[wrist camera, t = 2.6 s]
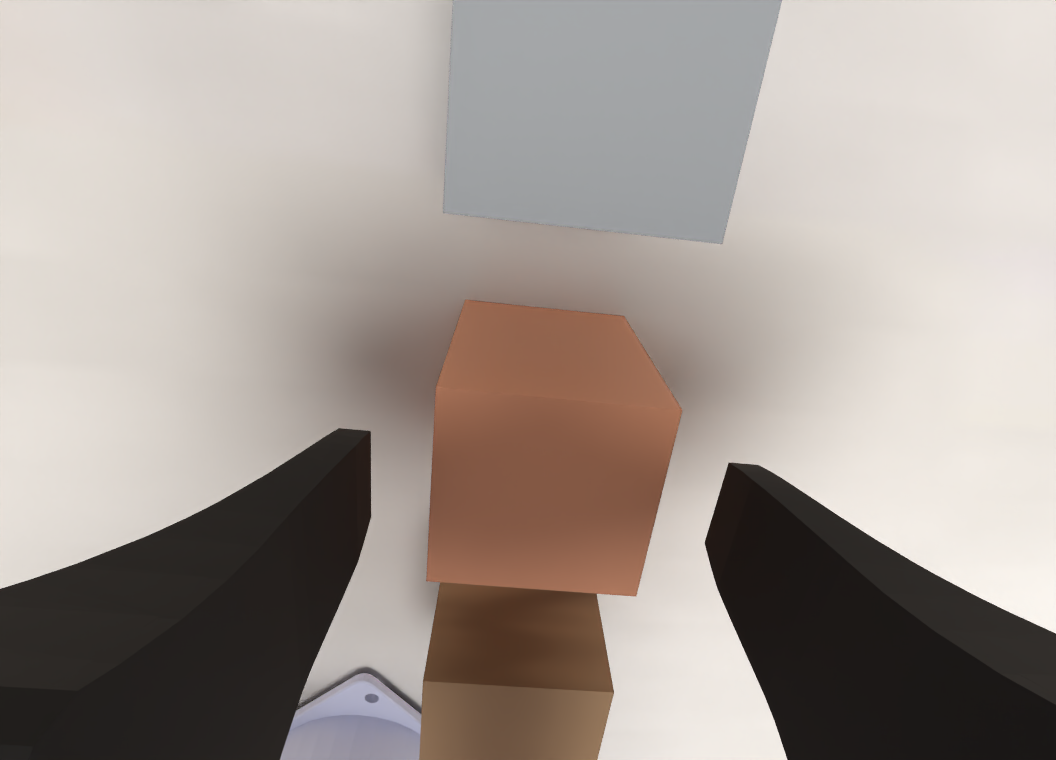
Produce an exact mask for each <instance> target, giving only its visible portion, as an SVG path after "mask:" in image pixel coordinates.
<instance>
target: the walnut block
mask: <svg viewBox="0 0 1056 760" xmlns="http://www.w3.org/2000/svg"><path fill="white" fill-rule="evenodd" d="M613 694H614V690H613V685H612V679H611V673H610V668H609V662H608V656H607V651H606V645H605V640H604V634H603V628H602V623H601V617H600V611H599V606H598V600H597V595H596V593H582V592H569V591H555V590H541V589H527V588H513V587H500V586H486V585H472V584H458V583H444V582H440V587H439V593H438V599H437V604H436V610H435V616H434V622H433V627H432V633H431V639H430V644H429V650H428V656H427V662H426V667H425V673H424V679H423V693H422V713H421V733H420V753H419V760H597V758H598V754H599V750H600V746H601V742H602V738H603V734H604V730H605V726H606V722H607V718H608V714H609V710H610V706H611V702H612V698H613Z"/></svg>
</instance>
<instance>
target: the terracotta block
mask: <svg viewBox="0 0 1056 760" xmlns="http://www.w3.org/2000/svg"><path fill="white" fill-rule="evenodd" d="M681 414H682V409H681V407H680V406H679V404H678V403H677V401H676V399H675V398H674V396H673V394H672V393H671V391H670V390H669V388H668V386H667V385H666V383H665V382H664V380H663V378H662V377H661V375H660V373H659V372H658V370H657V369H656V367H655V365H654V364H653V362H652V361H651V359H650V357H649V356H648V354H647V353H646V351H645V349H644V348H643V346H642V344H641V343H640V341H639V340H638V338H637V336H636V335H635V333H634V332H633V330H632V328H631V327H630V325H629V323H628V322H627V320H626V319H625V317H624V316H617V315H607V314H598V313H588V312H578V311H569V310H559V309H549V308H539V307H530V306H520V305H510V304H501V303H491V302H481V301H472V300H465V302H464V305H463V308H462V311H461V314H460V317H459V320H458V323H457V326H456V329H455V332H454V335H453V338H452V341H451V344H450V347H449V350H448V353H447V356H446V359H445V362H444V364H443V367H442V370H441V373H440V376H439V379H438V382H437V385H436V394H435V414H434V435H433V455H432V476H431V496H430V517H429V537H428V558H427V578H426V581H431V582H444V583H458V584H472V585H486V586H500V587H513V588H527V589H541V590H555V591H569V592H582V593H596V594H610V595H624V596H636V595H637V591H638V587H639V583H640V579H641V575H642V571H643V567H644V563H645V559H646V555H647V550H648V546H649V542H650V538H651V534H652V530H653V526H654V522H655V518H656V514H657V510H658V506H659V502H660V498H661V494H662V490H663V486H664V482H665V478H666V474H667V470H668V466H669V462H670V458H671V454H672V450H673V446H674V442H675V438H676V434H677V430H678V426H679V422H680V418H681Z"/></svg>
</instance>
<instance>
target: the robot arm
mask: <svg viewBox="0 0 1056 760" xmlns="http://www.w3.org/2000/svg"><path fill="white" fill-rule="evenodd" d="M370 518H371V431H363V430H352V429H340V428H339V429H337V430H335V431H334V432H332V433H330V434H329V435H327V436H326V437H324V438H322V439H321V440H319V441H318V442H316V443H315V444H313V445H312V446H310V447H309V448H307V449H306V450H304V451H303V452H301V453H300V454H298V455H296V456H295V457H293V458H292V459H290V460H289V461H287V462H285V463H284V464H282V465H281V466H279V467H278V468H276V469H274V470H273V471H271V472H270V473H268V474H266V475H265V476H263V477H261V478H260V479H258V480H256V481H254V482H253V483H251V484H249V485H247V486H246V487H244V488H242V489H240V490H239V491H237V492H235V493H233V494H232V495H230V496H228V497H226V498H225V499H223V500H221V501H219V502H217V503H216V504H214V505H212V506H210V507H208V508H206V509H204V510H202V511H200V512H198V513H196V514H194V515H192V516H190V517H188V518H186V519H184V520H181V521H179V522H177V523H175V524H173V525H171V526H168V527H166V528H164V529H162V530H160V531H158V532H155V533H153V534H151V535H148V536H146V537H144V538H141V539H139V540H136V541H134V542H131V543H128V544H126V545H123V546H121V547H118V548H116V549H113V550H111V551H108V552H106V553H103V554H100V555H98V556H95V557H93V558H90V559H88V560H85V561H83V562H80V563H77V564H75V565H72V566H69V567H66V568H63V569H60V570H57V571H54V572H51V573H48V574H46V575H43V576H40V577H37V578H34V579H31V580H28V581H24V582H21V583H18V584H15V585H12V586H8V587H5V588H2V589H0V760H419V753H420V733H421V714H420V713H419V712H418V711H416V710H415V709H414V708H413V707H411V706H410V705H409V704H408V703H406V702H405V701H404V700H403V699H402V698H400V697H399V696H398V695H397V694H395V693H394V692H393V691H392V690H390V689H389V688H388V687H387V686H385V685H384V684H383V683H382V682H380V681H379V680H378V679H377V678H375V677H374V676H372V675H371V674H367V673H361V674H358V675H355V676H354V677H352V678H350V679H349V680H347V681H345V682H344V683H342V684H340V685H338V686H337V687H335V688H333V689H332V690H330V691H328V692H327V693H325V694H323V695H322V696H320V697H318V698H317V699H315V700H313V701H312V702H310V703H308V704H307V705H305V706H303V707H301V708H300V709H298V710H296V709H297V706H298V703H299V700H300V697H301V694H302V691H303V689H304V686H305V683H306V681H307V678H308V676H309V673H310V671H311V668H312V666H313V663H314V661H315V659H316V657H317V654H318V652H319V650H320V648H321V645H322V643H323V641H324V639H325V636H326V634H327V632H328V629H329V627H330V625H331V623H332V620H333V618H334V616H335V614H336V611H337V609H338V607H339V604H340V602H341V600H342V598H343V595H344V593H345V591H346V588H347V586H348V584H349V582H350V579H351V577H352V575H353V572H354V570H355V568H356V565H357V563H358V560H359V557H360V553H361V550H362V547H363V543H364V540H365V536H366V533H367V529H368V526H369V522H370ZM705 546H706V550H707V553H708V557H709V561H710V565H711V569H712V572H713V575H714V579H715V582H716V585H717V588H718V591H719V593H720V596H721V598H722V600H723V603H724V605H725V607H726V610H727V612H728V614H729V616H730V619H731V621H732V623H733V626H734V628H735V630H736V632H737V635H738V637H739V639H740V641H741V644H742V646H743V648H744V650H745V653H746V655H747V657H748V659H749V662H750V664H751V666H752V668H753V671H754V673H755V675H756V677H757V680H758V682H759V684H760V686H761V689H762V691H763V693H764V695H765V698H766V700H767V703H768V705H769V708H770V710H771V713H772V715H773V718H774V720H775V723H776V726H777V729H778V732H779V735H780V738H781V741H782V744H783V747H784V750H785V753H786V756H787V759H788V760H1056V634H1055V633H1053V632H1051V631H1049V630H1047V629H1045V628H1042V627H1040V626H1038V625H1036V624H1034V623H1031V622H1029V621H1027V620H1025V619H1023V618H1020V617H1018V616H1016V615H1014V614H1012V613H1010V612H1007V611H1005V610H1003V609H1001V608H999V607H997V606H995V605H993V604H991V603H989V602H987V601H985V600H983V599H981V598H979V597H977V596H975V595H973V594H971V593H969V592H967V591H965V590H964V589H962V588H960V587H958V586H956V585H954V584H952V583H950V582H948V581H946V580H945V579H943V578H941V577H939V576H937V575H935V574H933V573H931V572H930V571H928V570H926V569H924V568H923V567H921V566H919V565H917V564H915V563H914V562H912V561H910V560H909V559H907V558H905V557H904V556H902V555H900V554H899V553H897V552H895V551H894V550H892V549H890V548H889V547H887V546H885V545H884V544H882V543H880V542H879V541H877V540H875V539H874V538H872V537H871V536H869V535H867V534H866V533H864V532H863V531H861V530H860V529H858V528H856V527H855V526H853V525H852V524H850V523H849V522H847V521H846V520H844V519H843V518H841V517H840V516H838V515H837V514H835V513H833V512H832V511H830V510H829V509H827V508H826V507H824V506H823V505H821V504H820V503H818V502H817V501H815V500H814V499H812V498H811V497H809V496H808V495H806V494H805V493H803V492H802V491H800V490H799V489H797V488H796V487H794V486H793V485H791V484H790V483H788V482H786V481H785V480H783V479H782V478H780V477H779V476H777V475H775V474H774V473H772V472H770V471H768V470H767V469H765V468H763V467H761V466H759V465H751V464H739V463H729V464H728V467H727V470H726V474H725V477H724V480H723V484H722V487H721V490H720V494H719V497H718V500H717V504H716V507H715V510H714V514H713V517H712V520H711V524H710V527H709V530H708V534H707V537H706V540H705Z"/></svg>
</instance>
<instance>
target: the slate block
mask: <svg viewBox="0 0 1056 760" xmlns="http://www.w3.org/2000/svg"><path fill="white" fill-rule="evenodd" d="M781 2H782V0H453V10H452V32H451V53H450V74H449V96H448V117H447V139H446V160H445V182H444V203H443V213H447V214H456V215H465V216H474V217H483V218H492V219H501V220H510V221H519V222H528V223H537V224H546V225H555V226H564V227H573V228H582V229H591V230H600V231H609V232H618V233H627V234H636V235H645V236H654V237H663V238H672V239H681V240H690V241H699V242H708V243H717V244H722V242H723V238H724V234H725V230H726V226H727V222H728V218H729V214H730V210H731V206H732V202H733V198H734V194H735V190H736V185H737V181H738V177H739V173H740V169H741V165H742V161H743V157H744V153H745V149H746V145H747V141H748V137H749V133H750V128H751V124H752V120H753V116H754V112H755V108H756V104H757V100H758V96H759V92H760V88H761V84H762V80H763V76H764V71H765V67H766V63H767V59H768V55H769V51H770V47H771V43H772V39H773V35H774V31H775V27H776V23H777V19H778V14H779V10H780V6H781Z"/></svg>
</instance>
